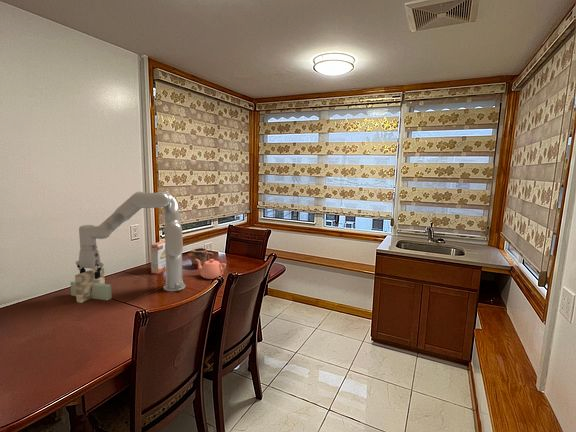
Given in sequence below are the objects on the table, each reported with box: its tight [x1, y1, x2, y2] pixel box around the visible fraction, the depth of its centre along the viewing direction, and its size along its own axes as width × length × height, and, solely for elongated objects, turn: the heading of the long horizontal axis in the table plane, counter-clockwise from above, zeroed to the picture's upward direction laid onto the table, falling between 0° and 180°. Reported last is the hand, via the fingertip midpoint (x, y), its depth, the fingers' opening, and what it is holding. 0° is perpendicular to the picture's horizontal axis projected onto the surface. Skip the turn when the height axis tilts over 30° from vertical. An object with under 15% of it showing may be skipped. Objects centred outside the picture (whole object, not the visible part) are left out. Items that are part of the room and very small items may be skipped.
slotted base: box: [70, 279, 113, 301], centre depth 169 cm, size 24×3×8 cm, turn 78°
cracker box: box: [150, 240, 166, 275], centre depth 216 cm, size 14×6×21 cm, turn 168°
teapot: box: [196, 258, 227, 280], centre depth 208 cm, size 22×15×12 cm
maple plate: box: [74, 266, 106, 304], centre depth 169 cm, size 16×3×15 cm, turn 168°
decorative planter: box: [187, 247, 215, 270], centre depth 228 cm, size 20×12×14 cm, turn 92°
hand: (90, 277), depth 168 cm, fingers open, 9 cm apart
